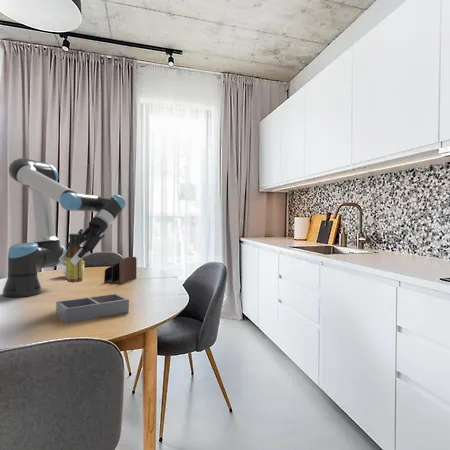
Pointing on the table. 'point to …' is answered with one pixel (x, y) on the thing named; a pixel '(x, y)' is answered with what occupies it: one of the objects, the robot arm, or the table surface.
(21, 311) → the table surface
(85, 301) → the slot caddy
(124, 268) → the letter holder
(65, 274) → the lidded sugar bowl
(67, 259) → the sauce bottle
